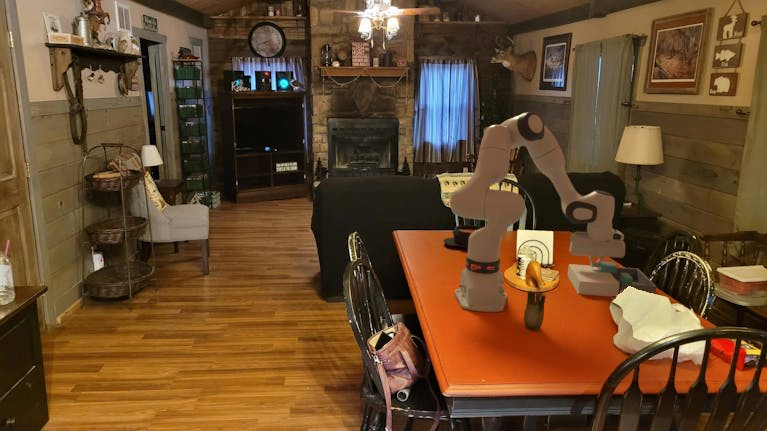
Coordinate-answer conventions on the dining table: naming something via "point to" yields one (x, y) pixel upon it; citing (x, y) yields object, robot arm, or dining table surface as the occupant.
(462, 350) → the dining table surface
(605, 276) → the plate
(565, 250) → the dining table surface
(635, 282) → the bin
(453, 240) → the black brimmed hat
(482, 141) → the robot arm
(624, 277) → the tile
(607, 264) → the tile
